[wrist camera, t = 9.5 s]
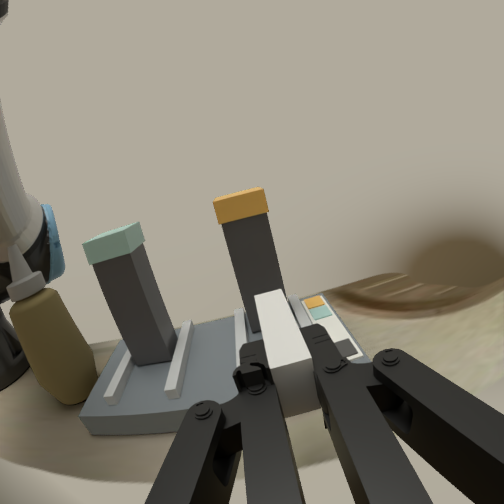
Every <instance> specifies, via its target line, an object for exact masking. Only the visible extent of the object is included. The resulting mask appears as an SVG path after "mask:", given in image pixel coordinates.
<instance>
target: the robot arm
mask: <svg viewBox="0 0 504 504" xmlns="http://www.w3.org/2000/svg"><path fill="white" fill-rule="evenodd" d="M7 15H8V0H0V24H1V23H2V21H3V20H4V19H5V18H6V16H7ZM15 244H17V246H18V248H19V250H20V252H21V253H22V255H23V257H24V259H25V261H26V262H27V264H28V266H29V267H30V269H31V271H32V272H33V273H34V272H37V271H41V272H42V275H43V277H44V280H45V283H46V284H49V283H50V282H51V281H52V280H54V279H56V278H58V277H60V276H61V275H62V274H63V273H64V270H65V263H64V257H63V252H62V248H61V244H60V240H59V235H58V231H57V226H56V222H55V218H54V214H53V211H52V207H51V206H50V205H48V204H46V205H44V204H42V205H40V204H39V202H38V200H37V199H36V198H35V197H34V196H32V195H30V194H27V193H25V191H24V188H23V185H22V182H21V179H20V176H19V173H18V170H17V166H16V163H15V160H14V156H13V153H12V149H11V145H10V142H9V138H8V134H7V130H6V125H5V121H4V116H3V111H2V106H1V101H0V304H1V303H4V302H6V301H8V300H10V296H9V294H8V291H7V289H6V287H7V286H8V285H10V284H11V283H12V282H13V281H12V276H11V270H10V264H9V257H8V250H7V248H8V247H10V246H13V245H15ZM254 297H255V302H256V307H257V312H258V316H259V321H260V326H261V331H262V335H263V339H261V340H257V341H253V342H249V343H245V344H243V345H242V346H241V348H240V350H239V358H240V366H238V367H237V368H236V369H235V370H234V371H233V375H232V377H233V379H234V382H235V384H236V387H237V390H238V392H239V393H238V394H237V396H235V397H234V398H233V399H231V400H229V401H227V402H225V403H223V404H221V405H219V403H217V402H215V401H212V400H204V401H200V402H198V403H195V404H194V405H192V406H191V407H190V408H189V409H188V411H187V412H186V414H185V417H184V419H183V421H182V423H181V425H180V427H179V430H178V432H177V434H176V436H175V438H174V441H173V443H172V445H171V447H170V449H169V452H168V454H167V456H166V458H165V460H164V462H163V465H162V467H161V469H160V471H159V473H158V476H157V478H156V480H155V482H154V484H153V486H152V489H151V491H150V493H149V495H148V498H147V499H146V502H145V504H229V500H230V497H231V493H232V489H233V485H234V481H235V477H236V473H237V469H238V465H239V461H240V457H241V450H243V459H244V471H245V483H246V495H247V504H306V503H305V499H304V495H303V491H302V486H301V482H300V478H299V474H298V470H297V466H296V462H295V458H294V453H293V449H292V445H291V441H290V437H289V433H288V429H287V425H286V422H285V418H288V417H291V416H295V415H299V414H303V413H306V412H310V411H313V410H316V409H320V408H321V407H322V411H323V417H324V424H325V429H326V428H328V431H329V433H330V436H331V439H332V441H333V444H334V447H335V450H336V452H337V455H338V458H339V460H340V463H341V466H342V468H343V471H344V474H345V477H346V479H347V482H348V484H349V487H350V490H351V493H352V495H353V498H354V501H355V504H433V502H432V501H431V499H430V497H429V495H428V493H427V492H426V490H425V488H424V486H423V485H422V483H421V481H420V479H419V477H418V475H417V474H416V472H415V470H414V468H413V466H412V465H411V463H410V461H409V459H408V458H407V456H406V454H405V452H404V451H403V449H402V447H401V445H400V444H399V442H398V440H397V439H396V437H395V435H394V433H393V432H395V433H396V434H397V435H398V436H399V437H400V438H401V439H402V440H403V441H404V442H405V443H406V444H408V445H409V446H410V447H411V448H412V449H413V450H414V451H415V452H416V453H417V454H419V455H420V456H421V457H422V458H423V459H424V460H425V461H426V462H427V463H429V464H430V465H431V466H432V467H433V468H434V469H435V470H436V471H438V472H439V473H440V474H441V475H442V476H444V478H446V479H447V480H448V481H449V482H450V483H451V484H452V485H454V486H455V487H456V488H457V489H458V490H459V491H461V492H462V493H463V494H464V495H465V496H466V497H468V498H469V499H470V500H471V501H472V502H473V503H475V504H504V415H503V414H502V413H500V412H498V411H497V410H495V409H494V408H492V407H491V406H489V405H487V404H486V403H484V402H483V401H481V400H480V399H478V398H476V397H475V396H473V395H472V394H470V393H468V392H467V391H465V390H464V389H462V388H461V387H459V386H457V385H456V384H454V383H453V382H451V381H450V380H448V379H446V378H445V377H443V376H442V375H440V374H439V373H437V372H435V371H434V370H432V369H431V368H429V367H428V366H426V365H424V364H423V363H421V362H420V361H418V360H417V359H415V358H413V357H412V356H410V355H409V354H407V353H406V352H404V351H402V350H399V349H393V348H391V349H385V350H383V351H380V352H379V353H377V354H376V355H375V356H374V358H373V362H369V363H358V364H357V363H351V362H350V361H349V360H348V359H347V358H345V357H342V355H341V354H340V352H339V350H338V349H337V347H336V345H335V344H334V342H333V340H332V339H331V337H330V335H329V334H328V332H327V330H326V329H325V327H323V326H321V325H320V324H318V323H316V324H313V325H309V326H306V327H302V328H299V327H298V325H297V323H296V321H295V318H294V316H293V314H292V312H291V310H290V307H289V305H288V303H287V301H286V298H285V296H284V294H283V292H282V289H278V290H274V291H270V292H267V293H263V294H259V295H255V296H254ZM29 365H30V364H29V362H28V360H27V357H26V355H25V353H24V351H23V348H22V346H21V344H20V341H19V339H18V336H17V334H16V331H15V329H14V328H13V326H12V325H11V324H10V323H9V322H8V321H7V320H6V318H5V316H4V314H3V312H2V309H1V307H0V390H1V389H3V388H5V387H6V386H8V385H9V384H11V383H12V382H13V381H15V380H16V379H17V378H18V377H19V376H21V375H22V374H23V373H24V371H25V370H26V369H27V368H28V367H29ZM320 405H321V407H320ZM392 431H393V432H392Z"/></svg>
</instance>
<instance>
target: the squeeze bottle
mask: <svg viewBox="0 0 504 504" xmlns="http://www.w3.org/2000/svg"><path fill="white" fill-rule="evenodd" d="M7 250H8V257H9V264H10V270H11V276H12V281H13V282H12V283H11V284H10V285H8V286H7V287H6V289H7V291H8V294H9V296H10V299H11V301H12V302H15V304H14V305H13V306H12V307H11V309H10V312H9V315H10V318H11V321H12V323H13V326H14V329H15V331H16V334H17V336H18V339H19V341H20V344H21V346H22V348H23V351H24V353H25V355H26V357H27V360H28V362H29V364H30V366H31V368H32V370H33V372H34V374H35V376H36V378H37V380H38V382H39V384H40V385H41V386H42V387H43V388H44V389H46V390H47V391H48V392H49V393H50V394H51V395H53V396H54V397H55V398H56V399H58V400H59V401H60V402H61V403H63V404H66V405H71V404H77V403H79V402H82V401H84V400H85V399H87V398H88V397H89V395H90V393H91V391H92V389H93V387H94V386H95V384H96V382H97V380H98V377H97V372H96V367H95V362H94V357H93V352H92V350H91V349H90V347H89V345H88V344H87V342H86V341H85V339H84V338H83V336H82V334H81V333H80V331H79V329H78V328H77V326H76V325H75V323H74V321H73V319H72V317H71V316H70V314H69V312H68V310H67V308H66V307H65V305H64V303H63V301H62V299H61V298H60V296H59V294H58V292H57V291H56V290H54V289H51V288H44V287H45V285H46V283H45V280H44V277H43V275H42V272H41V271H37V272H34V273H33V272H32V271H31V269H30V267H29V266H28V264H27V262H26V261H25V259H24V257H23V255H22V253H21V252H20V250H19V248H18V246H17V244H15V245H13V246H10V247H8V248H7Z"/></svg>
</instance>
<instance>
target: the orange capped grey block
mask: <svg viewBox="0 0 504 504" xmlns="http://www.w3.org/2000/svg"><path fill="white" fill-rule="evenodd" d="M213 205H214V209H215V212H216V216H217V219H218V223H219V224H222V228H223V232H224V236H225V239H226V243H227V247H228V250H229V254H230V257H231V261H232V265H233V268H234V272H235V275H236V279H237V282H238V286H239V289H240V293H241V296H242V300H243V303H244V307H245V310H246V314H247V317H248V321H249V324H250V327H251V331H252V333H253V332H257V331H261V326H260V321H259V316H258V312H257V307H256V302H255V297H254V296H255V295H259V294H263V293H267V292H270V291H274V290H278V289H282V292H283V294H284V296H285V298H286V294H285V289H284V285H283V280H282V276H281V272H280V267H279V263H278V259H277V254H276V250H275V246H274V242H273V237H272V233H271V229H270V225H269V220H268V216H267V212H269V210H268V206H267V201H266V197H265V193H264V189H263V188H260V187H256V188H252V189H248V190H244V191H240V192H236V193H232V194H229V195H225V196H221V197H217V198H215V199H214V201H213ZM286 301H287V298H286Z"/></svg>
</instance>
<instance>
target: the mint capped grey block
mask: <svg viewBox="0 0 504 504" xmlns="http://www.w3.org/2000/svg"><path fill="white" fill-rule="evenodd" d="M144 241H145V239H144V236H143V233H142V230H141V227H140V223H139V222H136V223H132V224H130V225H126V226H123V227H120V228H117V229H114V230H111V231H108V232H105V233H102V234H100V235H98V236H96V237H94V238H92V239H90V240H88V241H86V242H85V243H83V244H82V245H83V248H84V251H85V254H86V257H87V260H88V263H89V265H93V268H94V271H95V273H96V276H97V279H98V281H99V284H100V286H101V289H102V292H103V294H104V297H105V299H106V301H107V304H108V306H109V309H110V311H111V313H112V316H113V318H114V320H115V322H116V325H117V326H118V329H119V331H120V333H121V335H122V338H123V340H124V342H125V344H126V346H127V348H128V350H129V352H130V354H131V356H132V358H133V360H134V362H135V364H136V366H138V365H145V364H151V363H157V362H163V361H169V360H172V359H173V355H174V352H175V348H176V345H177V341H178V337H177V335H176V332H175V330H174V328H173V325H172V322H171V320H170V317H169V315H168V313H167V310H166V307H165V305H164V302H163V299H162V297H161V294H160V291H159V289H158V286H157V283H156V280H155V277H154V275H153V272H152V269H151V266H150V263H149V260H148V257H147V254H146V251H145V248H144V245H143V242H144Z"/></svg>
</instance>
